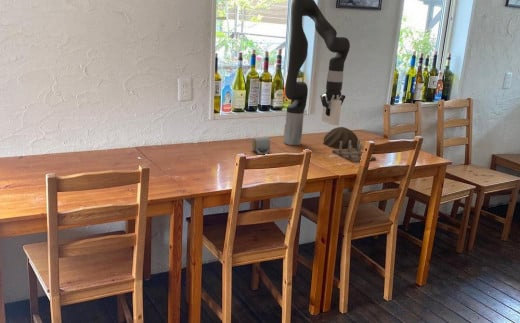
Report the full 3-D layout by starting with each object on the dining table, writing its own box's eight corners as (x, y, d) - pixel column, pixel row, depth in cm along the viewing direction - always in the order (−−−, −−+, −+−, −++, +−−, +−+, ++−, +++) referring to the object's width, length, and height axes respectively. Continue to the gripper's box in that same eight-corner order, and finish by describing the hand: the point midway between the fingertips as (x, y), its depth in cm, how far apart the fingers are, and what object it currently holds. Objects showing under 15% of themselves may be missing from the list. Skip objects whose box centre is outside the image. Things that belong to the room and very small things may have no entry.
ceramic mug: (251, 149, 246) (251, 134, 243) (266, 149, 248) (267, 134, 245) (255, 155, 236) (256, 140, 234) (271, 155, 238) (273, 140, 236)
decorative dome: (319, 139, 275) (321, 122, 272) (353, 140, 277) (355, 123, 274) (326, 149, 257) (328, 130, 254) (362, 150, 258) (365, 132, 255)
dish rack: (331, 152, 250) (333, 139, 248) (353, 150, 256) (355, 137, 254) (353, 162, 235) (355, 148, 233) (376, 160, 241) (378, 146, 239)
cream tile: (321, 120, 241) (324, 96, 237) (326, 120, 242) (329, 96, 239) (333, 125, 232) (336, 100, 229) (338, 125, 234) (341, 100, 230)
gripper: (341, 78, 237) (337, 113, 243) (318, 79, 231) (314, 114, 236) (351, 81, 231) (347, 116, 236) (327, 81, 225) (323, 118, 230)
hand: (330, 115), depth 236 cm, fingers closed on cream tile, 3 cm apart
